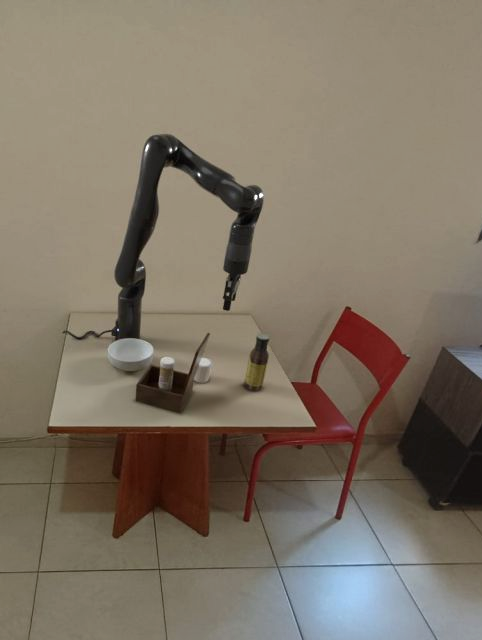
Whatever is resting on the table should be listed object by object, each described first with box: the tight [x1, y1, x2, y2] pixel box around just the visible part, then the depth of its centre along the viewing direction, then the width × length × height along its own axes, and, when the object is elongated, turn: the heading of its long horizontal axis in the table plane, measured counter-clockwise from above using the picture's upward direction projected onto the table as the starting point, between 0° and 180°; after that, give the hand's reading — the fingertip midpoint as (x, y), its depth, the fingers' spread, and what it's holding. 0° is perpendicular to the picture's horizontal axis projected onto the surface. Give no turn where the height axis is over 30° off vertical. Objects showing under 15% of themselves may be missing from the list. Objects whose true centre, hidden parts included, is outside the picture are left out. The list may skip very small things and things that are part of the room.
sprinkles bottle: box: [159, 356, 176, 392], centre depth 144 cm, size 5×5×13 cm
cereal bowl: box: [107, 338, 155, 372], centre depth 162 cm, size 17×17×7 cm
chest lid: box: [181, 332, 211, 396], centre depth 137 cm, size 16×13×1 cm
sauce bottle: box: [244, 333, 270, 392], centre depth 149 cm, size 6×6×20 cm
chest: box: [135, 364, 194, 414], centre depth 147 cm, size 15×13×7 cm
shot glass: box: [194, 356, 214, 384], centre depth 156 cm, size 7×7×7 cm
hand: (228, 305), depth 145 cm, fingers open, 8 cm apart
